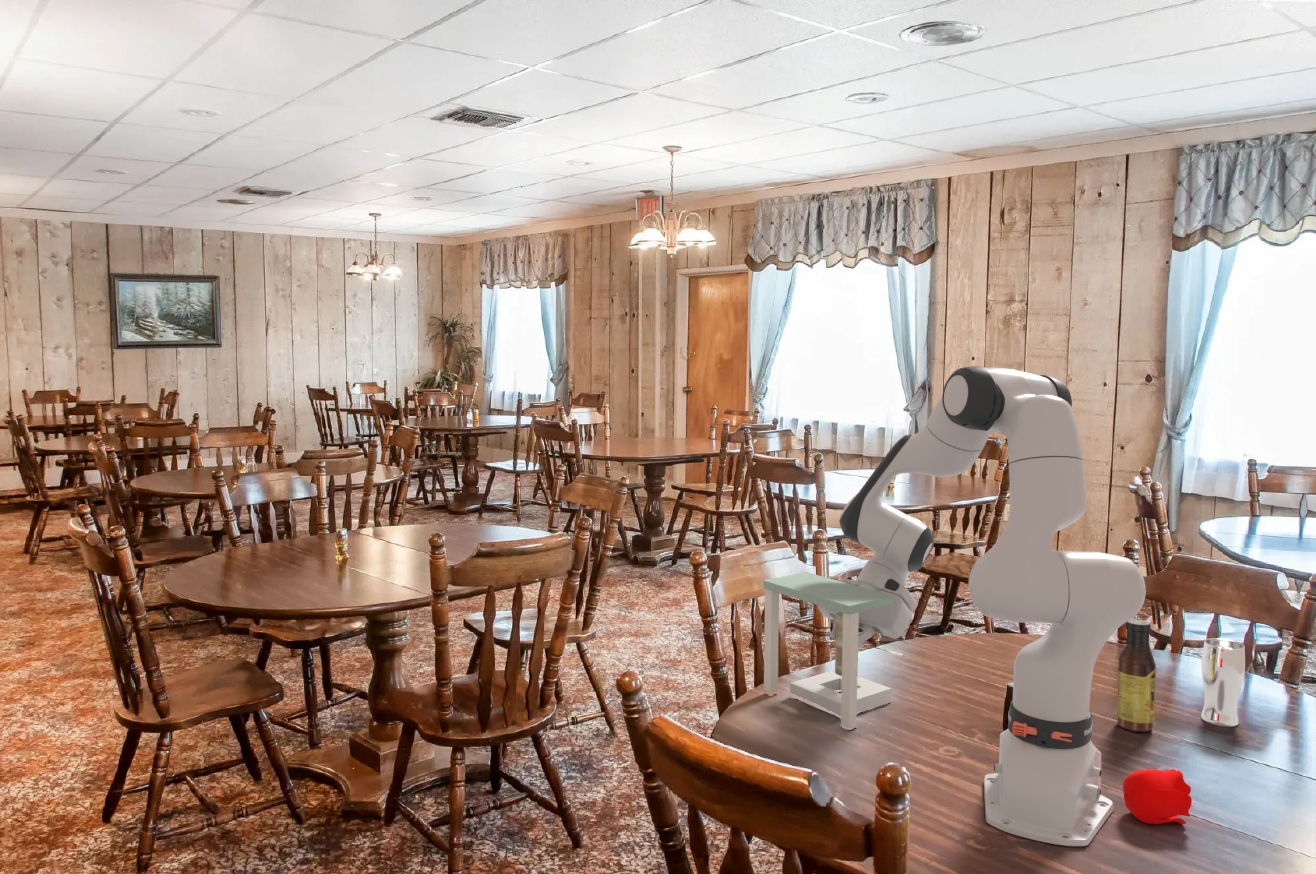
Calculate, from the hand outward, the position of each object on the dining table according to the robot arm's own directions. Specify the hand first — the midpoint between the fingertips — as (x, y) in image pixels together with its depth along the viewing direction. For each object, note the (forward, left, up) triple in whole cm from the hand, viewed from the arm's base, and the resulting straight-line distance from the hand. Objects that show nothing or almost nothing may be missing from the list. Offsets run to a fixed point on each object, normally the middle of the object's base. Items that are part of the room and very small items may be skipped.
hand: (843, 642), depth 186 cm
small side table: (-5, +2, -12) cm, 13 cm away
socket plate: (-1, 0, -12) cm, 12 cm away
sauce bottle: (+13, -52, -12) cm, 55 cm away
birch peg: (+1, 0, -6) cm, 6 cm away
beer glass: (+24, -66, -12) cm, 71 cm away
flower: (-24, -55, -12) cm, 61 cm away
